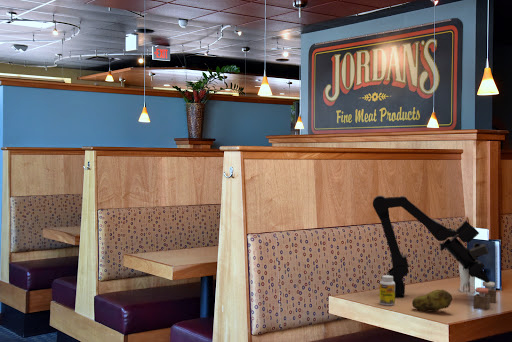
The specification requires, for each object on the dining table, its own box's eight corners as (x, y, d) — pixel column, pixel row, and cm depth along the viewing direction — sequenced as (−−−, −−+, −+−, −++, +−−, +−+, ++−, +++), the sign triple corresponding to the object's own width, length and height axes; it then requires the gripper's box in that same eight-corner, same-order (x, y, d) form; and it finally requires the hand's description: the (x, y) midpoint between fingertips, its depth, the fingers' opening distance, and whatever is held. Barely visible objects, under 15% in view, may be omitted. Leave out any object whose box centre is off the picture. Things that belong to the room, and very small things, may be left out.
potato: (421, 306, 224) (421, 284, 224) (455, 313, 215) (455, 290, 215) (409, 310, 218) (410, 287, 218) (443, 317, 209) (444, 293, 209)
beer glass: (477, 293, 247) (478, 256, 246) (459, 292, 248) (460, 255, 248) (475, 290, 254) (476, 253, 253) (457, 289, 255) (458, 252, 255)
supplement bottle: (378, 305, 225) (378, 276, 225) (380, 301, 230) (380, 274, 230) (394, 306, 223) (394, 278, 223) (395, 303, 228) (396, 275, 228)
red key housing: (473, 308, 223) (473, 296, 222) (476, 305, 226) (476, 293, 226) (486, 310, 220) (487, 297, 220) (489, 307, 224) (490, 295, 224)
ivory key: (483, 297, 233) (483, 283, 233) (481, 294, 237) (481, 281, 237) (495, 297, 232) (495, 284, 232) (493, 295, 236) (493, 281, 236)
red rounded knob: (474, 303, 223) (474, 288, 222) (477, 301, 226) (477, 286, 226) (486, 305, 220) (487, 290, 220) (489, 302, 224) (489, 288, 224)
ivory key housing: (482, 301, 233) (483, 290, 233) (480, 299, 237) (481, 287, 237) (495, 302, 232) (496, 290, 232) (493, 299, 236) (493, 288, 236)
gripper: (479, 240, 226) (510, 272, 224) (471, 234, 244) (500, 263, 242) (456, 260, 227) (487, 292, 226) (449, 253, 246) (478, 282, 244)
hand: (488, 281), depth 234 cm, fingers closed, pressing on ivory key
